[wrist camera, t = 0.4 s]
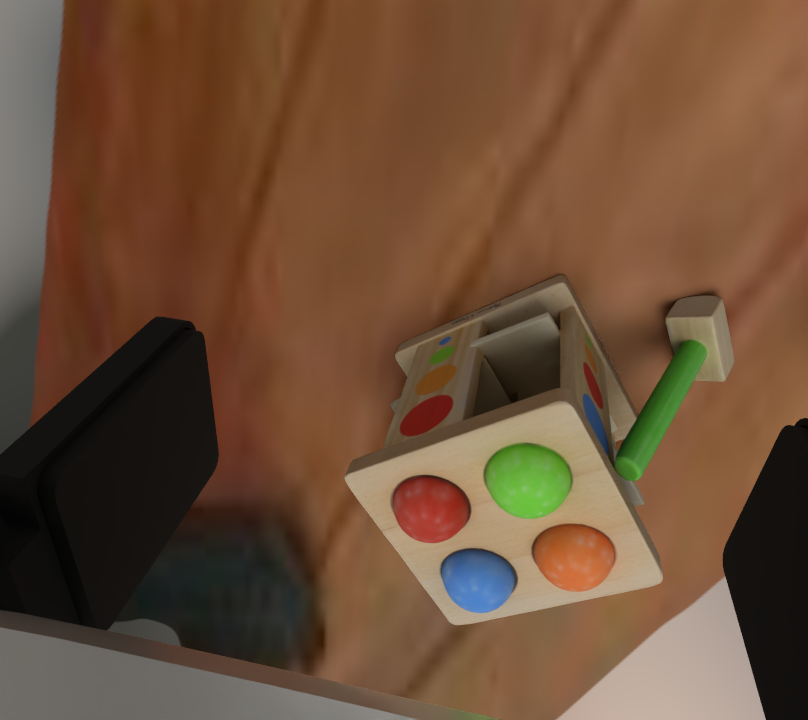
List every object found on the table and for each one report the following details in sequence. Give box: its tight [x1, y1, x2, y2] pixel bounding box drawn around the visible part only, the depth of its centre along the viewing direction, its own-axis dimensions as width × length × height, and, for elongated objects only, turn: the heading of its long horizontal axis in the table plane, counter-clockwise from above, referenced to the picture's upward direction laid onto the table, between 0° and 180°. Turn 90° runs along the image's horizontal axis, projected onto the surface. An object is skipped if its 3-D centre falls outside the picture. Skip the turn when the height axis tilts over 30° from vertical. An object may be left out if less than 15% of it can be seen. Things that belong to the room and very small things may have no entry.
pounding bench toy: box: [345, 275, 735, 625], centre depth 41 cm, size 23×14×18 cm, turn 122°
